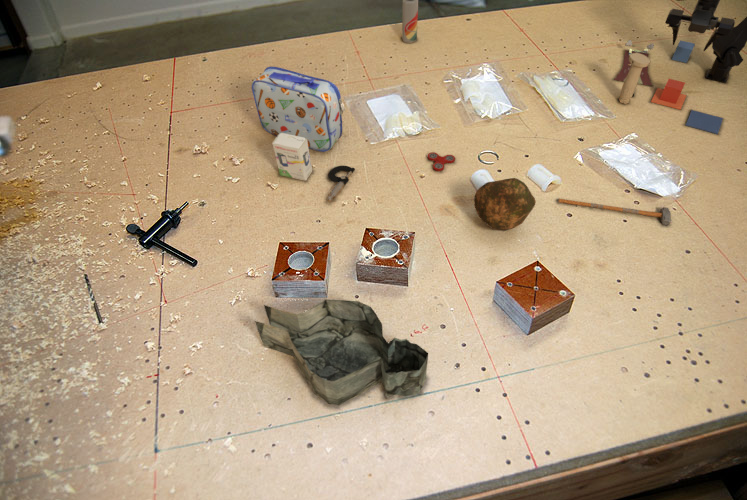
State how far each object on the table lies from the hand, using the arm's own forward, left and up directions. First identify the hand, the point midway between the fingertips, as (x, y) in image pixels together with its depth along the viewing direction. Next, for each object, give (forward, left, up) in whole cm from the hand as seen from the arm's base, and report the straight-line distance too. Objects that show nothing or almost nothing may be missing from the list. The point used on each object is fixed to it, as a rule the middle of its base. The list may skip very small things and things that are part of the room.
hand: (688, 47), depth 170 cm
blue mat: (+22, +13, -11) cm, 28 cm away
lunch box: (+91, -89, -11) cm, 128 cm away
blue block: (-15, -1, -11) cm, 18 cm away
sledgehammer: (+75, 0, -11) cm, 76 cm away
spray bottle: (+20, -93, -11) cm, 95 cm away
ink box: (+105, -82, -11) cm, 134 cm away
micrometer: (+104, -69, -11) cm, 125 cm away
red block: (+14, +1, -11) cm, 18 cm away
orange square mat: (+14, +1, -11) cm, 18 cm away
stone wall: (+149, -36, -11) cm, 154 cm away
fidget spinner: (+80, -48, -11) cm, 93 cm away
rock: (+95, -23, -11) cm, 98 cm away
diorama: (+1, -13, -11) cm, 17 cm away
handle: (+23, -11, -11) cm, 28 cm away
